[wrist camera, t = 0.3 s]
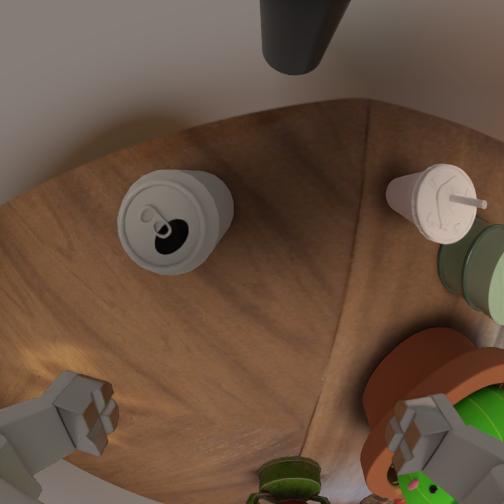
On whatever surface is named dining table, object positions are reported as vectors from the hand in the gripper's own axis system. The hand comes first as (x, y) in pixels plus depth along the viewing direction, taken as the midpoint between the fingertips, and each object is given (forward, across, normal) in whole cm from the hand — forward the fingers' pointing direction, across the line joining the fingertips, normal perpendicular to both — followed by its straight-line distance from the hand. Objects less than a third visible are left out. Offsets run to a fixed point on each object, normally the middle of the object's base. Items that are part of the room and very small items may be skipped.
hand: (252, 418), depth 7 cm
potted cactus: (+24, -23, +19) cm, 38 cm away
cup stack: (+24, -25, +1) cm, 35 cm away
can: (+24, +7, -3) cm, 25 cm away
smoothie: (+24, -14, -6) cm, 29 cm away
